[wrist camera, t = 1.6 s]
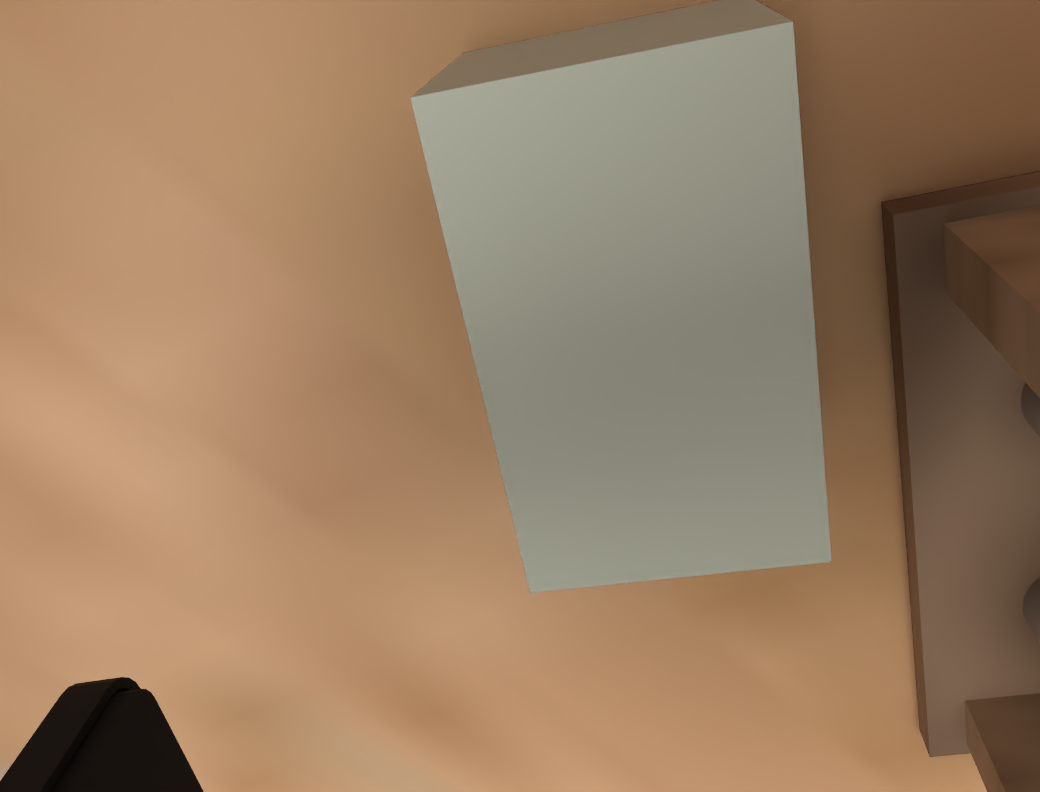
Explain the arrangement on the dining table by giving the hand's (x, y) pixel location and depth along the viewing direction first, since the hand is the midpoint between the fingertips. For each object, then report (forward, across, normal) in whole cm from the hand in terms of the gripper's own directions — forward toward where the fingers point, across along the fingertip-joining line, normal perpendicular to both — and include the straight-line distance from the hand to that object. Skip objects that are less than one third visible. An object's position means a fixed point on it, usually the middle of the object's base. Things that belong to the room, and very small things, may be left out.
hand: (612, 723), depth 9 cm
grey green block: (+14, -1, 0) cm, 15 cm away
